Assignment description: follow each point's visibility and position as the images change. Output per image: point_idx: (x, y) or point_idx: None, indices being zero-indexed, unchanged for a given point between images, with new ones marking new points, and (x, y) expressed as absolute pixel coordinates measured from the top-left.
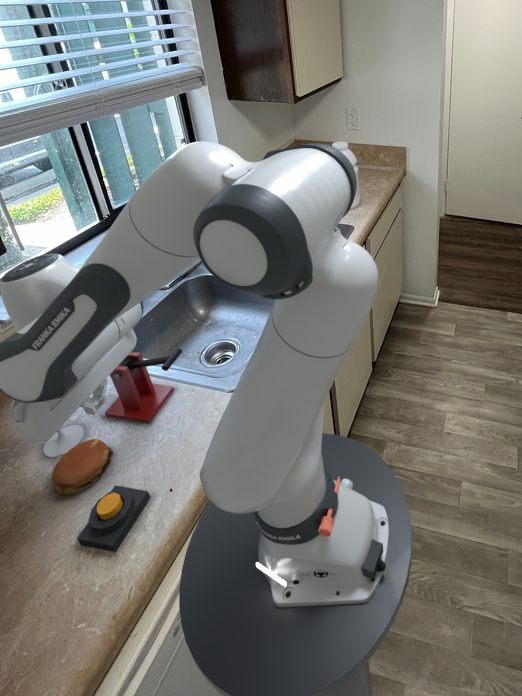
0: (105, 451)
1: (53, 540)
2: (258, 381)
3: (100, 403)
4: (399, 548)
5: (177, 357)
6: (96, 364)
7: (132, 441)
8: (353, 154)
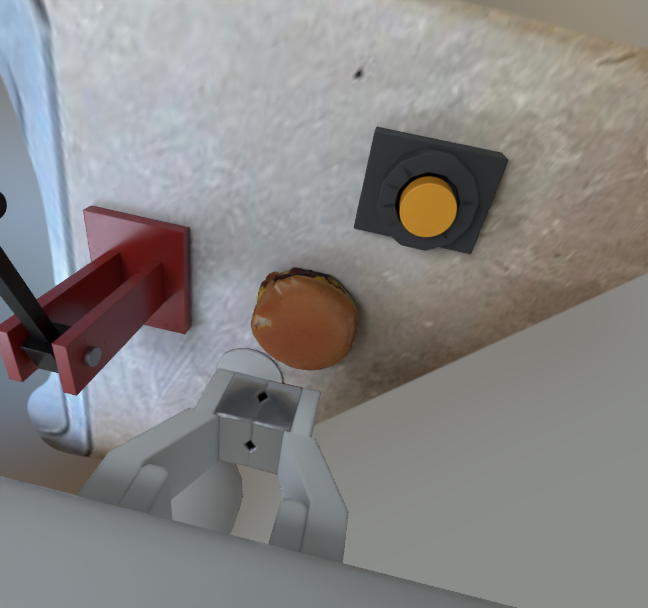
0: (278, 288)
1: (445, 300)
2: None
3: (257, 396)
4: None
5: None
6: None
7: (237, 245)
8: None
